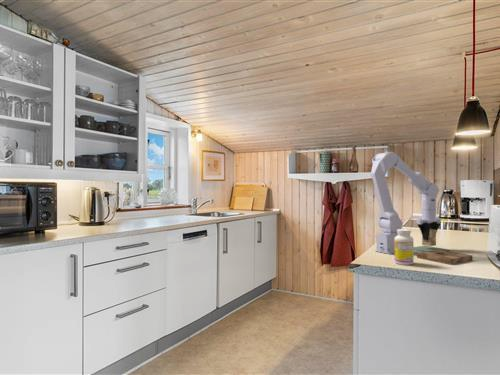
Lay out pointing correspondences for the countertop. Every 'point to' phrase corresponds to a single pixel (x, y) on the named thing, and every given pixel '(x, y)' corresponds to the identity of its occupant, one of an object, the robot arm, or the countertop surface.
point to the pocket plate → (444, 256)
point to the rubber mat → (428, 248)
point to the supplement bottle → (404, 247)
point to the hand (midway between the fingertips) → (428, 239)
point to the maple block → (430, 238)
